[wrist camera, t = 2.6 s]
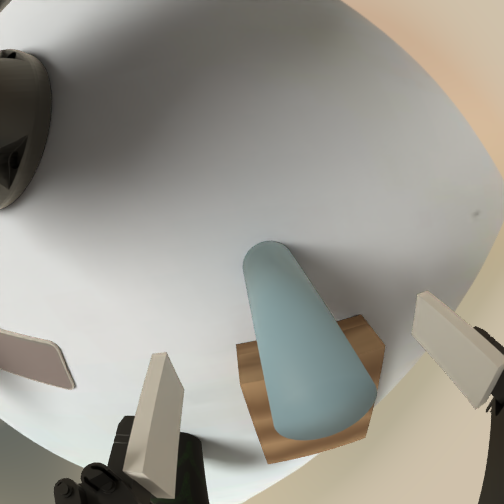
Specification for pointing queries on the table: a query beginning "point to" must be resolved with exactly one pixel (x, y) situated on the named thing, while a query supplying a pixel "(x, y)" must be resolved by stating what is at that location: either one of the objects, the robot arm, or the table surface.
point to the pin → (302, 350)
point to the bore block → (258, 403)
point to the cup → (188, 474)
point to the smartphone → (34, 359)
